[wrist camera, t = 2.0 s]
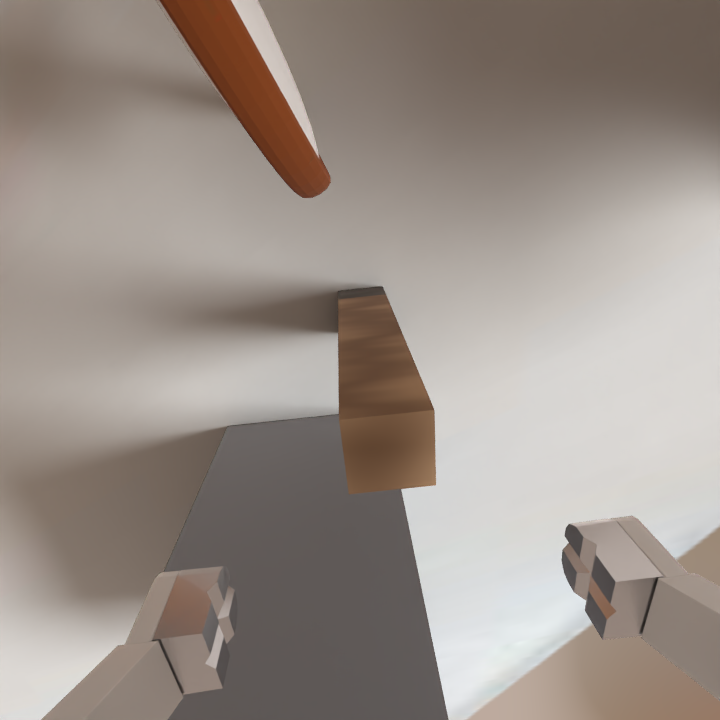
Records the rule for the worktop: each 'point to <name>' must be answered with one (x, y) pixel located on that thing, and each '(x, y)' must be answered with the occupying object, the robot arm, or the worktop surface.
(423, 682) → the grey tissue box
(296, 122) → the magnifying glass
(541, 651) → the worktop surface
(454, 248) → the worktop surface
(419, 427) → the long brown rectangular block
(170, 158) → the worktop surface
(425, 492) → the worktop surface
